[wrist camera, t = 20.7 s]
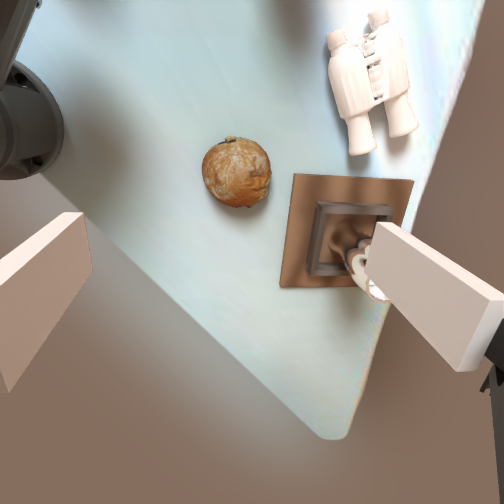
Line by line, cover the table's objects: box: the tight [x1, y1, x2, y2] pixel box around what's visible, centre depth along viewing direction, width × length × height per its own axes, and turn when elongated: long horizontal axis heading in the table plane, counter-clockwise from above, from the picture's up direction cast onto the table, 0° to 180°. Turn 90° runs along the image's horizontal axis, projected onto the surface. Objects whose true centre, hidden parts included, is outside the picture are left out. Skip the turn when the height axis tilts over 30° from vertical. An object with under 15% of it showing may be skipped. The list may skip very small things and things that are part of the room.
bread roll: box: [202, 136, 272, 208], centre depth 45 cm, size 10×10×8 cm
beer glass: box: [328, 221, 391, 303], centre depth 46 cm, size 7×7×15 cm
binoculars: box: [326, 5, 419, 156], centre depth 42 cm, size 10×16×5 cm, turn 24°
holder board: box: [279, 173, 414, 287], centre depth 52 cm, size 20×20×4 cm
